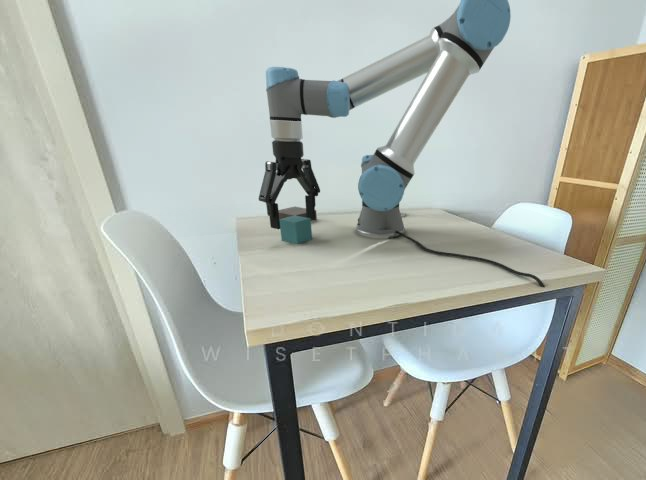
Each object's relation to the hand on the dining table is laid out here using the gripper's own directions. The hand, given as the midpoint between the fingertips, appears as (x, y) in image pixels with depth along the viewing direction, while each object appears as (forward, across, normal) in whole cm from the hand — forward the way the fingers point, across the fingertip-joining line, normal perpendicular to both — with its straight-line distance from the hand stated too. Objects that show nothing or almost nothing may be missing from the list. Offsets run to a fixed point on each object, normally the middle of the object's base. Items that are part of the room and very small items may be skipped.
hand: (294, 223), depth 100 cm
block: (+5, 0, 0) cm, 5 cm away
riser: (+6, -17, -17) cm, 25 cm away
